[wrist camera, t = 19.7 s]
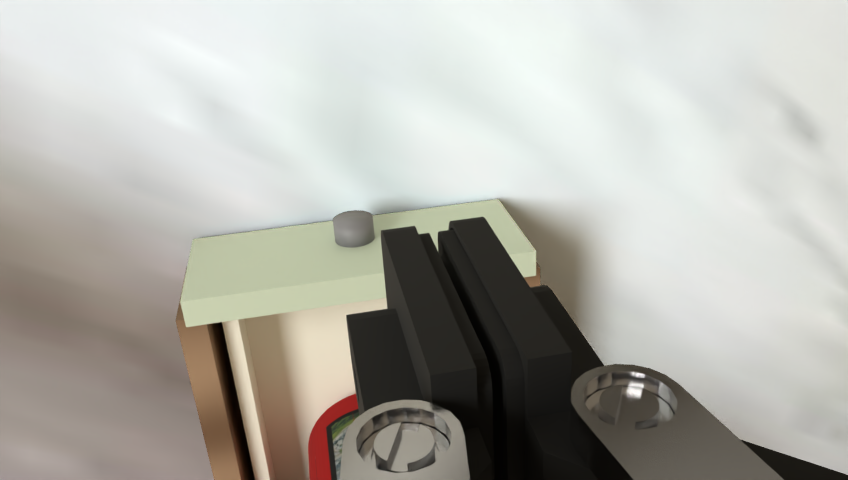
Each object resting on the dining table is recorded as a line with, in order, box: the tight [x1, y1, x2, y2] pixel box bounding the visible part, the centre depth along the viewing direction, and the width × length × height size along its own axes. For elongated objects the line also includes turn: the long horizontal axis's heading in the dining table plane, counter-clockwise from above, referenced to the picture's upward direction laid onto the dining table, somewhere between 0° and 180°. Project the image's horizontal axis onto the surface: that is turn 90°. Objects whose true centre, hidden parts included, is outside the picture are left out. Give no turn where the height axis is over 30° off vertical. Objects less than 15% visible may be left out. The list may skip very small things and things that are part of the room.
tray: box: [180, 199, 536, 480], centre depth 37 cm, size 19×15×6 cm
